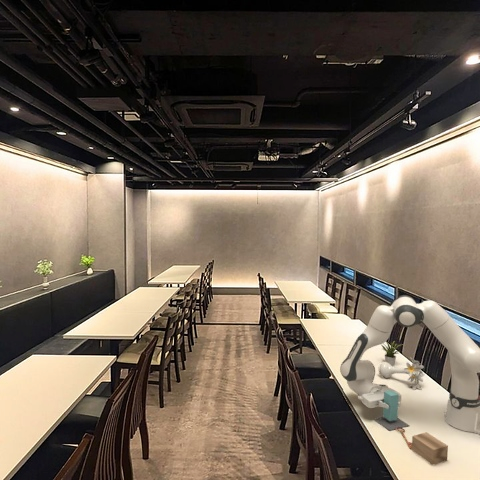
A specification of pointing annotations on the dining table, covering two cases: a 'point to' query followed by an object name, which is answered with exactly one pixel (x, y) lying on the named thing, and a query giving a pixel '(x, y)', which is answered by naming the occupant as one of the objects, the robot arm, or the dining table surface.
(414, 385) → the flower vase
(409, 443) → the key
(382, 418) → the mat
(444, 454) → the block
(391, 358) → the house plant
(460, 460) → the dining table surface
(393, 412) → the tall teal pillar
